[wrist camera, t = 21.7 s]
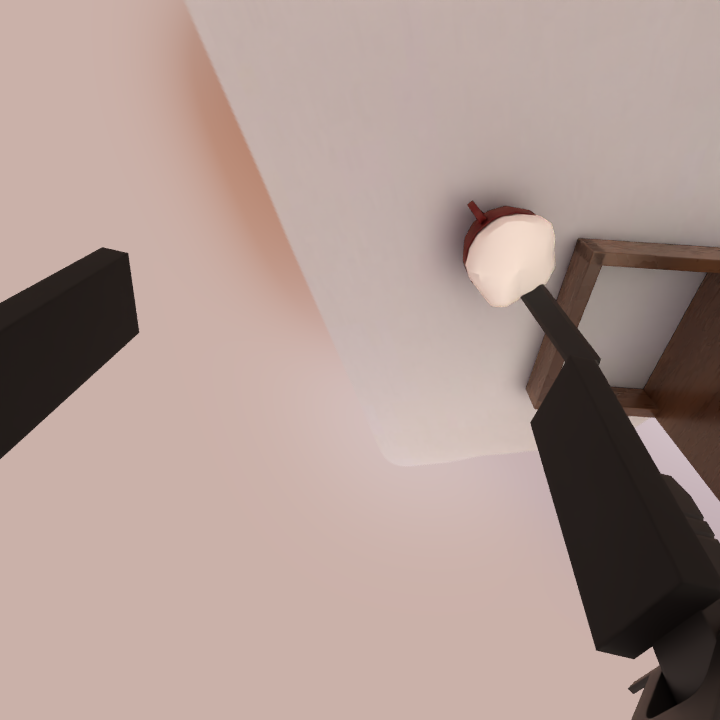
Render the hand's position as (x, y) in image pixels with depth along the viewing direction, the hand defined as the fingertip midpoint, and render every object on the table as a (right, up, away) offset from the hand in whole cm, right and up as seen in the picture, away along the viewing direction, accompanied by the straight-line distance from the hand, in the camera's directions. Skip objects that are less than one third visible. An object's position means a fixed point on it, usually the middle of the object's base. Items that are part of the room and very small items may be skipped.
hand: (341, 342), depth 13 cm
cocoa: (+12, +9, +21) cm, 25 cm away
